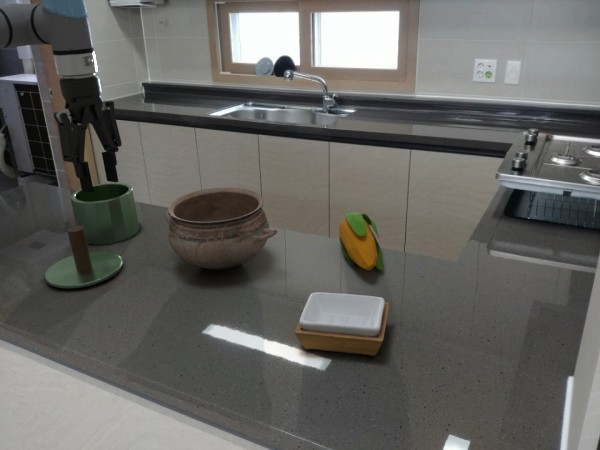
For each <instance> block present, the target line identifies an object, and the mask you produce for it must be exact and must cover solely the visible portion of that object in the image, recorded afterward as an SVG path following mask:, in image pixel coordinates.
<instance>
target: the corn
mask: <svg viewBox="0 0 600 450" xmlns="http://www.w3.org/2000/svg"><path fill="white" fill-rule="evenodd" d="M344 217H345V218H344V219H343V220H341V222H340V224H339V227H338V236H339V237H338V238H339V244H340V247H341V250H342V251H343V254H344V256H345V257H346V259H347V260H348V262H350V263H351V264H352V265H357V266H358V267H360V268H362V269H364V270H366V271H370V270H373V268H374V267H375V268H376V269H377V270H382V269H383V265H384V256H383V251H382V249H381V246H380V244H379V242H378V240H377V238H379V237H380V236H379V233H378V228H377V225H376V222H375V221H374V220H373V219H372V218H371V217H370V216H369V215H367V214H365V213H361V212H348V213H346V214H344ZM371 227H372V229H371ZM372 230H373V231H374V232H373V231H372ZM374 233H375V234H376V236H377V238H376V236H375V234H374Z"/></svg>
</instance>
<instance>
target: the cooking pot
mask: <svg viewBox="0 0 600 450" xmlns="http://www.w3.org/2000/svg"><path fill="white" fill-rule="evenodd" d="M264 202H265V201H264V198H263V196H262V195H261V194H260V193H259V192H257V191H254V190H251V189H246V188H239V187H214V188H207V189H201V190H196V191H192V192H190V193H186V194H184V195H182V196H179V197H178V198H176V199H174V200H173V201H172V202H171V203H170V204H169V205H168V207H167V211H166V212H165V213H164V219H165V221H166V222H167V224H168V228H167V238H168V244H169V246H170V247H171V249H172V251H173V252H174V254H175V255H177V257H178V258H179V259H180V260H183V261H184V262H185V263H187V264H190V265H193V266H196V267H199V268H203V269H208V270H212V271H218V272H219V271H220V272H221V271H228V270H231V269H234V268H236V267H237V266H239V265H242V264H244V263H246V262H247V261H250V260H251V259H253V258H254V257H255V256H257V255H258V254H259V253H260V252H261V251H262V250H263V249H264V247H265V246H266V244H267V241H268V240H269V239H271V238H272V237H274V236H275V235H277V234H278V230H277V229H276V228H270V223H269V222H270V221H269V218H268V216H267V213H266V211H265V209H264V207H263V205H264Z"/></svg>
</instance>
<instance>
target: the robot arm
mask: <svg viewBox="0 0 600 450" xmlns="http://www.w3.org/2000/svg"><path fill="white" fill-rule="evenodd" d="M40 45H41V46H42V45H50V46H51V51H52V54H53V60H54V65H55V71H56V75H57V76H58V77H60V78H59V79H58V83H59V89H60V93H61V96H62V98H63V99H64V101H65V104H64V109H62V110H61V111H54V112H53V118H54V120H55V122H56V125H57V129H58V135H59V136H58V137H59V142H60V149H61V156H62V160H63V162H67V163H72V165H73V167H74V168H73V169H74V172H75V176H76V178H77V179H79V183H80V189H82V191H83V192H89V193H92V192H94V189H93V185H94V184H93V180H92V175H91V171H90V166H89V165H90V164H89V161H86V160H85V150H86V133H87V129H88V127H89V124H90V125H91V126H92V128H93V130H94V132H95V134H96V135H97V138H98V140H99V142H100V145H101V146H102V148H103V150H104V151H101V158H102V163H103V167H104V173H105V177H106V181H107V182H109V183H120V181H119V176H118V170H117V166H118V161H117V160H118V159H117V155H116V153H119V147H122V145H123V143H122V140H121V139H122V138H121V134H120V130H119V127H118V123H117V118H116V115H115V102H114V101H113V100H104V99H102V97H101V94H102V92H103V91H102V86H101V80H100V79H101V78H100V77H99V76H98V74H97V73H98V72H99V71H98V70H99V69H98V64H97V58H96V54H95V49H94V44H93V38H92V32H91V27H90V20H89V12H88V9H87V6H86V2H85V0H41V2H40V3H15V4H14V3H9V4H0V50H1V49H9V48H11V49H12V48H18V47H25V46H40Z"/></svg>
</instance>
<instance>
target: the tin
mask: <svg viewBox="0 0 600 450" xmlns="http://www.w3.org/2000/svg"><path fill="white" fill-rule="evenodd" d="M93 189H94V192H92V193H89V192H83V191H82V189H81V188H79V189H78V190H76V191H74V192H73V193H72V194H71V195H70V203H71V207H72V212H73V215H74V221H75V226H83V227H84V232H85V236H86V241H87V245H96V246H98V245H100V246H102V245H110V244H115V243H119V242H122V241H125V240H128V239H130V238H132V237H134V236H135V235H136V234H137V233H138V232H139V230H140V225H139V224H140V223H139V218H138V213H137V207H136V201H135V195H134V191H133V186H131V185H130V184H128V183H122V182H105V183H97V184H93Z"/></svg>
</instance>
